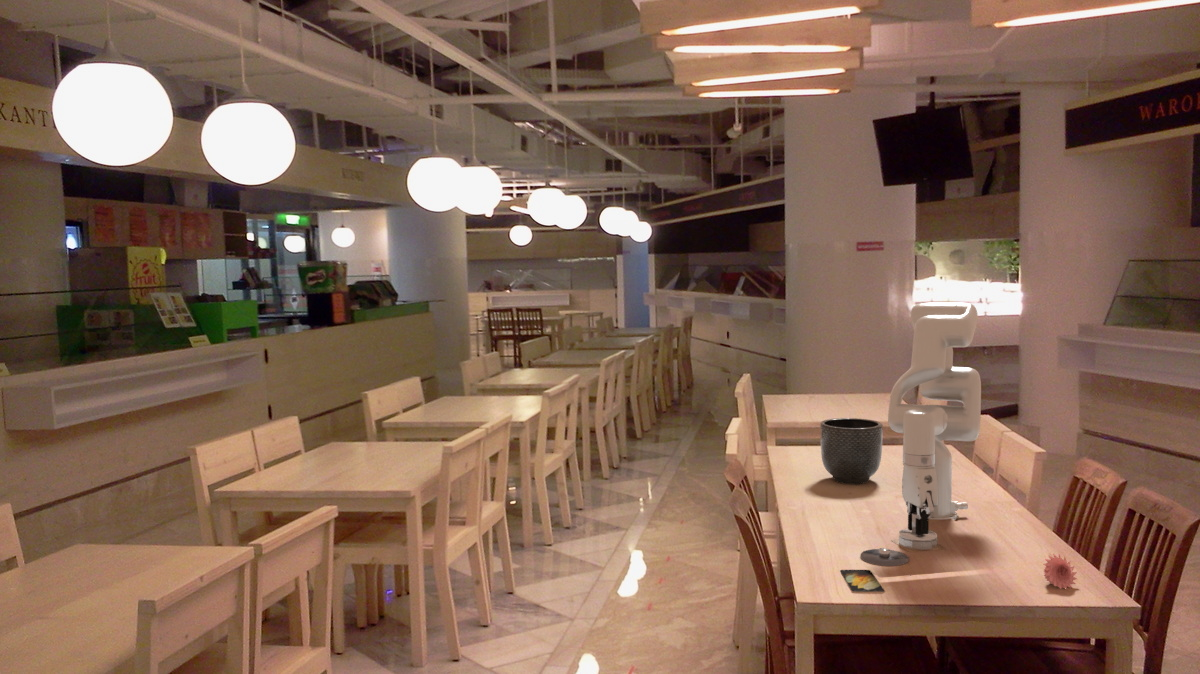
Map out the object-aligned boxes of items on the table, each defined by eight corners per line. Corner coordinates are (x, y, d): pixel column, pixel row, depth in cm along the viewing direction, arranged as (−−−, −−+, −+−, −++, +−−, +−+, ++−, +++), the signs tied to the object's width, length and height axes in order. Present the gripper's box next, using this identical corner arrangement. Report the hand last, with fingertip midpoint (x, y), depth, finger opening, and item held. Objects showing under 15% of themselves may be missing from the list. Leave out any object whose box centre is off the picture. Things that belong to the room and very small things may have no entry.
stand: (926, 541, 242) (926, 531, 241) (946, 552, 232) (947, 542, 232) (890, 543, 240) (890, 533, 240) (909, 555, 230) (909, 545, 230)
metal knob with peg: (925, 537, 241) (925, 508, 240) (944, 548, 232) (944, 517, 231) (892, 540, 239) (893, 510, 239) (910, 551, 231) (910, 520, 230)
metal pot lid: (894, 553, 232) (894, 541, 232) (916, 567, 221) (917, 555, 221) (852, 556, 230) (853, 544, 230) (873, 571, 220) (873, 558, 219)
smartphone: (870, 569, 220) (885, 591, 206) (870, 572, 220) (885, 594, 206) (839, 569, 221) (852, 591, 206) (839, 572, 221) (852, 594, 206)
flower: (1036, 552, 213) (1050, 545, 208) (1069, 566, 212) (1084, 559, 207) (1032, 584, 209) (1046, 578, 204) (1065, 599, 208) (1081, 592, 203)
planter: (859, 471, 319) (859, 416, 318) (895, 484, 301) (895, 425, 299) (808, 476, 313) (808, 420, 312) (841, 490, 295) (841, 430, 293)
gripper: (950, 465, 226) (949, 540, 228) (916, 452, 243) (915, 521, 244) (921, 467, 225) (920, 542, 227) (889, 453, 241) (888, 523, 243)
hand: (918, 531), depth 235 cm, fingers closed on metal knob with peg, 3 cm apart
